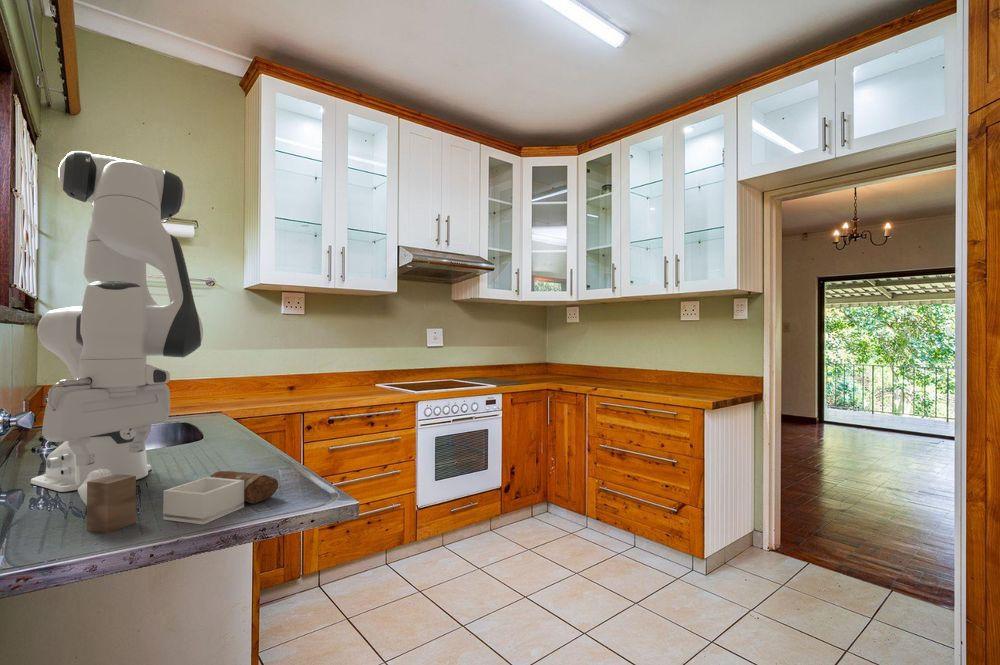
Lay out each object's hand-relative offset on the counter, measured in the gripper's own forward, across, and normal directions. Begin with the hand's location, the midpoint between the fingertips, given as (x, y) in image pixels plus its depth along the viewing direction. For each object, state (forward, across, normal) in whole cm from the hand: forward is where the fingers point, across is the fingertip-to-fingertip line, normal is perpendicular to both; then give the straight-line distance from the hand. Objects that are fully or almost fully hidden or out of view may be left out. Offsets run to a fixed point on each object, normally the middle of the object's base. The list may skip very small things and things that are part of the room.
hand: (112, 458), depth 81 cm
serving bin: (+11, +8, -11) cm, 18 cm away
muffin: (+12, +9, +12) cm, 19 cm away
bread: (+12, +17, -10) cm, 23 cm away
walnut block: (+11, 0, 0) cm, 11 cm away
